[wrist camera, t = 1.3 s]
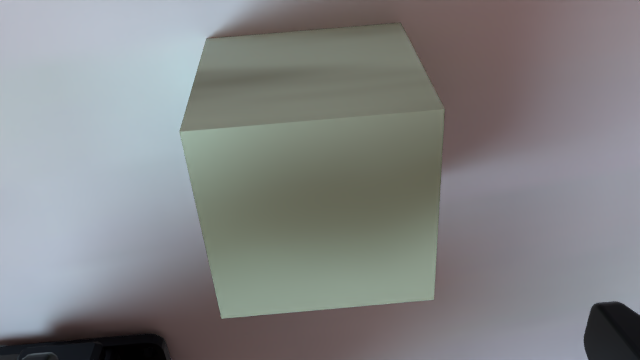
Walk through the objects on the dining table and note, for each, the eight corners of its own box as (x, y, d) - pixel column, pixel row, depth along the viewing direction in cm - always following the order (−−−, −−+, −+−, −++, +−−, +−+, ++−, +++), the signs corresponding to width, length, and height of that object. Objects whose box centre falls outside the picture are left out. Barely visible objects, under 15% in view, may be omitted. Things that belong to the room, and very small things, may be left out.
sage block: (398, 181, 18) (433, 300, 14) (234, 195, 18) (221, 318, 14) (399, 21, 15) (444, 109, 11) (206, 37, 15) (179, 131, 11)
